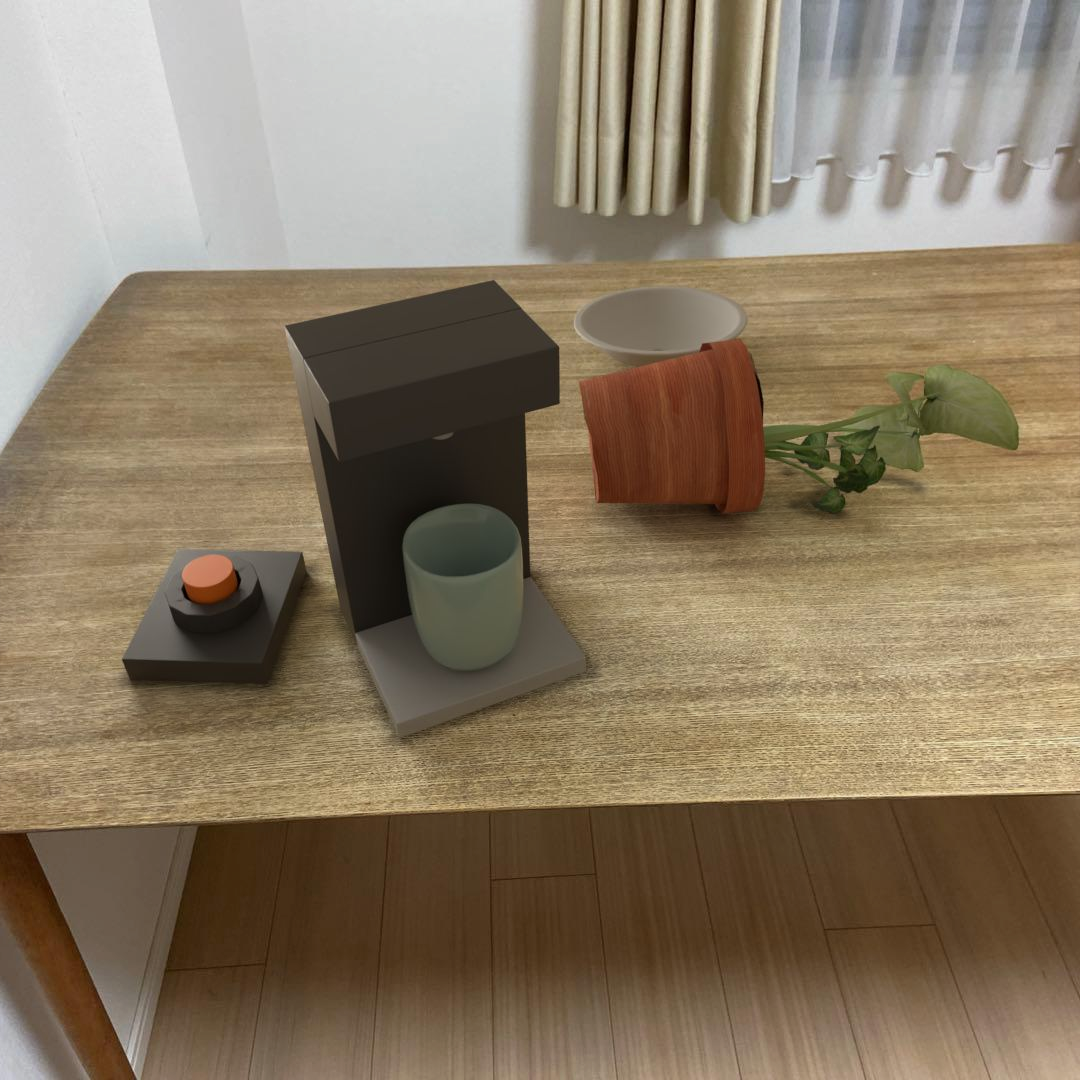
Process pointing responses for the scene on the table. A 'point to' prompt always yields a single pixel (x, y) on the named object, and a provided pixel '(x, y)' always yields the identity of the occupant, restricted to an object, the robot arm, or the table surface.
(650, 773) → the table surface
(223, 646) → the control pad
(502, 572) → the cup
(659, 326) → the dish
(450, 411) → the coffee maker
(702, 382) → the potted plant
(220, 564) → the button
